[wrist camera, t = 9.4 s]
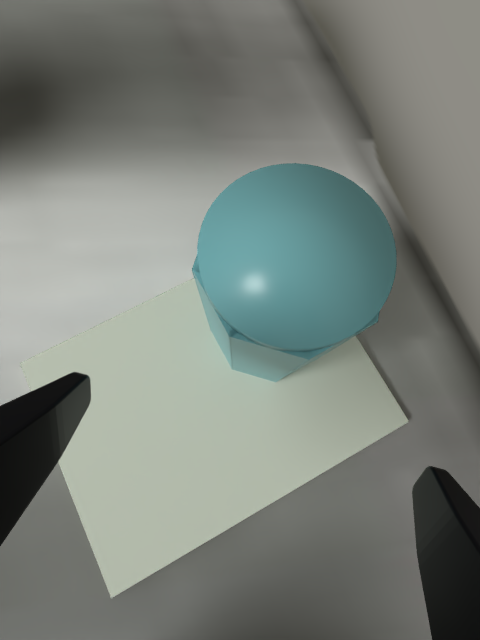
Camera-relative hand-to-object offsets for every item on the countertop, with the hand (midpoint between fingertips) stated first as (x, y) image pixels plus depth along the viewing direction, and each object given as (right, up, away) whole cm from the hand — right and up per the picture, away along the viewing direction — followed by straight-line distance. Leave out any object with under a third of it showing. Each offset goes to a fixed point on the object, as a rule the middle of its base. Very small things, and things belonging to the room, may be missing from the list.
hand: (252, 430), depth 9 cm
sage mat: (-2, -2, +13) cm, 13 cm away
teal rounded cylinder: (+1, +3, +13) cm, 14 cm away
